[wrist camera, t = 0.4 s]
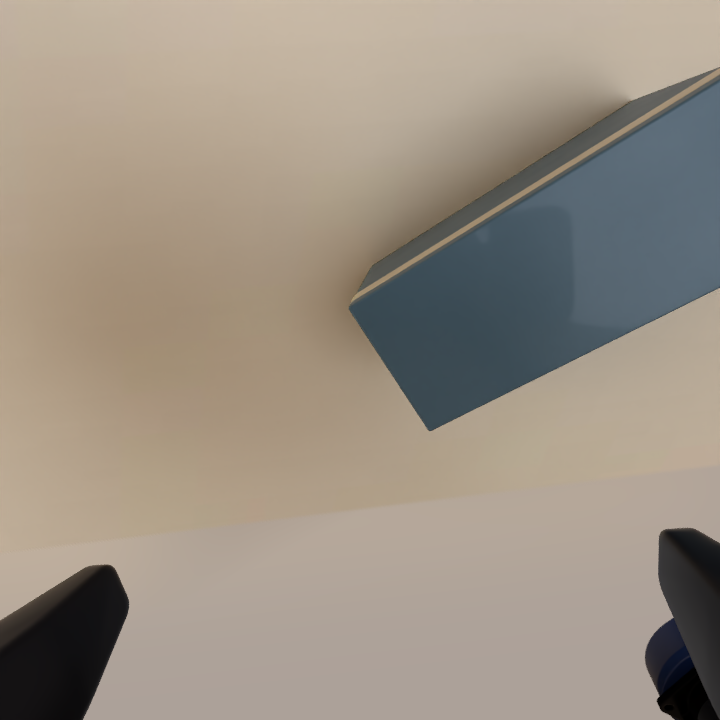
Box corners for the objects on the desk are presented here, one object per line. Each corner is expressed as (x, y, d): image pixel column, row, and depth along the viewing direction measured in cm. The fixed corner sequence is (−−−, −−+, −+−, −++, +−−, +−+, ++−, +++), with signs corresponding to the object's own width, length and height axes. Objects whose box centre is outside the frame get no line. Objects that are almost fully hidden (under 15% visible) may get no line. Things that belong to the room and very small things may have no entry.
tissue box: (634, 98, 17) (775, 43, 10) (685, 215, 18) (841, 234, 11) (370, 266, 20) (346, 307, 13) (426, 356, 21) (431, 436, 14)
